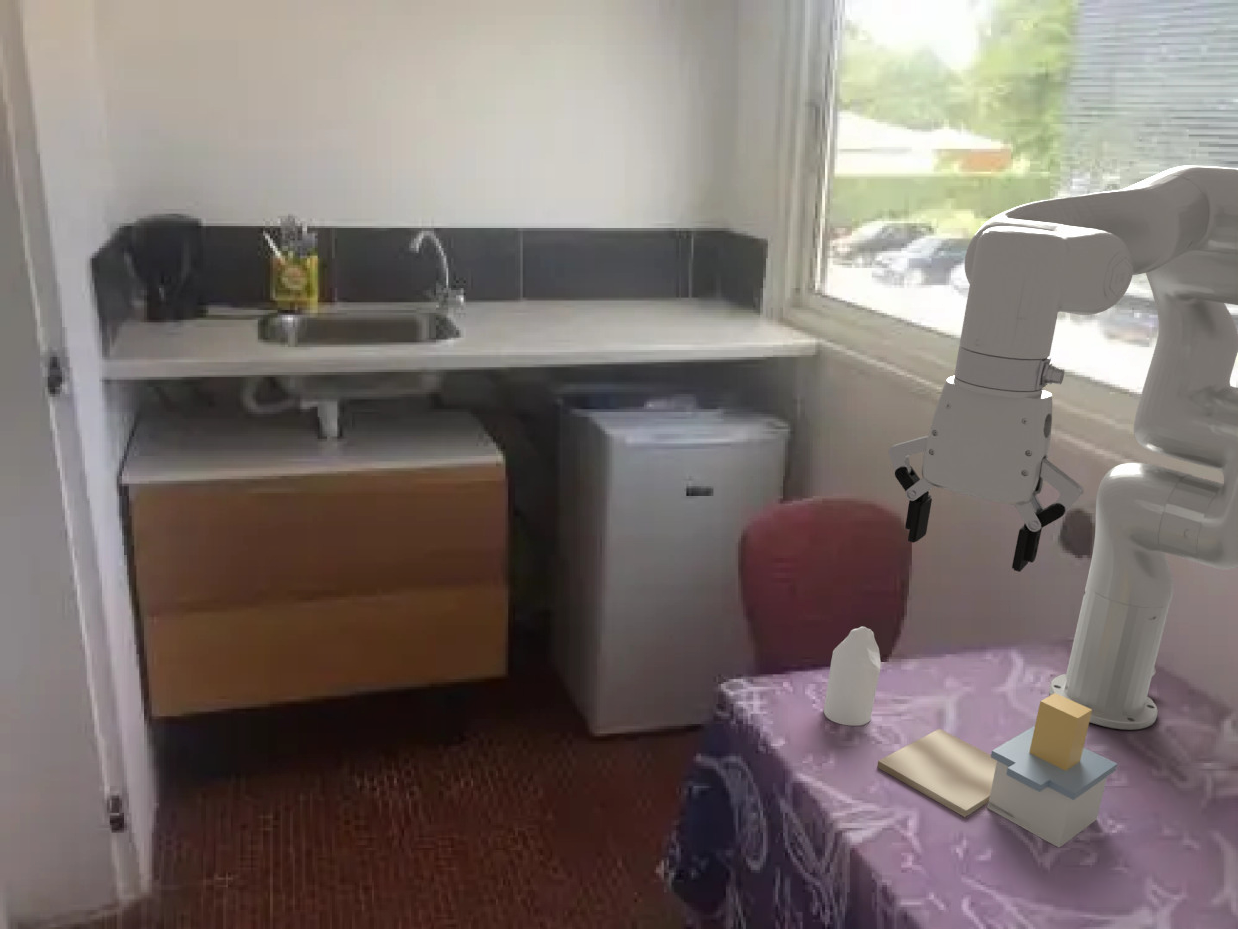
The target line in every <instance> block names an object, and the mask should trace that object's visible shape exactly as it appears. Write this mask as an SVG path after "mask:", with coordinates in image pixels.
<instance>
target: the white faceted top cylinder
mask: <svg viewBox="0 0 1238 929" xmlns="http://www.w3.org/2000/svg"><path fill="white" fill-rule="evenodd" d="M881 663H882V662H881V655H880V648H879V645H878V644H877V641H876V639H875V633H874V631H872V629H871V628H867V627H866V626H860V627H858V628H853V629H851V630H850V632H849V633H848V635H847V636H846V637H845V638H844V640H843V641H841V642H840V643H839V644H838V645H837V646H836V647H835V648H834V649H833V651H832V657H831V661H830V666H829V668H830V669H829V673H828V674H829V675H828V680H827V687H826V694H825V700H824V705H823V713H824V715H825V717H826V718H827V719H828V720H830V721H831V722H833V723H836V724H840V725H844V726H854V727H856V726H860V727H861V726H863V725H867V724H868V723H869V722H870V721H871V720H872V719H871V718H872V713H873V708H874V704H875V697H876V692H877V688H878V682H879V678H880V673H881V665H882V664H881Z"/></svg>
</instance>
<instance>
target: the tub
mask: <svg viewBox="0 0 1238 929" xmlns="http://www.w3.org/2000/svg"><path fill="white" fill-rule="evenodd" d="M1007 769H1008V766H1006V765H1005V764H1003V763H1001V762H999V761H997V763H996V768H995V773H994V778H993V783H992V788H991V792H990V797H989V802H988V803H987V807H986V808H987V809H989V810H990V811H992V812H994V813H996V814H997V815H999V816H1001V817H1003V818H1004V819H1006V820H1008V821H1010V822H1012V823H1014V824H1015V825H1018V826H1019V827H1021V828H1023V829H1025V830H1026V831H1028V832H1030V833H1031V834H1033V835H1035V836H1036V837H1039V838H1041V839H1043V840H1044V841H1046V842H1048V843H1050V844H1051V845H1053V846H1055V847H1057V848H1061V847H1062V846H1063V845H1065V844H1066V843H1067V842H1069V841H1071V839H1073V838H1074V837H1075V836H1077V835H1079V833H1081V832H1082V831H1084V830H1086V829H1087V828H1088V827H1089V826H1091V825H1092V824H1093V823H1094V822H1096V821H1097V820H1098V816H1099V812H1100V808H1101V804H1102V799H1103V797H1104V796H1103V795H1104V792H1105V788H1106V782H1107V778H1108V776H1107V777H1106V778H1104V779H1103V780H1102V781H1100V782H1099V783H1097V784H1096V785H1094V786H1093V787H1092V788H1090V789H1089V790H1087V791H1086V792H1084V793H1083V794H1082V795H1080V796H1079V797H1077V798H1076V799H1074V800H1072V799H1070V798H1068V797H1067V796H1065V795H1063V794H1061V793H1059V792H1057V791H1055V790H1053V789H1051V788H1049V787H1047V788H1045V789H1044V790H1042V791H1041V792H1038V791H1036V790H1034V789H1033V788H1031V787H1029V786H1027V785H1025V784H1023V783H1021V782H1019V781H1017V780H1015V779H1013V778H1012V777H1010V776H1008V775H1006V774H1007Z"/></svg>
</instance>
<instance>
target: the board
mask: <svg viewBox="0 0 1238 929" xmlns="http://www.w3.org/2000/svg"><path fill="white" fill-rule="evenodd" d="M996 763H997V760H995V759H993V758H991V754H990V753H987V752H986V751H984V750H982V749H980V748H979V747H976V746H974V745H972V744H970V743H968V742H966V741H964V740H962V739H960V738H959V737H957V736H955V735H953V734H951V733H950V732H947V731H945V730H943V729H942V728H938V729H936V730H934V731H932V732H931V733H929V734H927V735H924V736H923V737H920V738H919V739H917V740H915V741H914V742H911V743H909V744H908V745H905V746H904V747H902V748H900V749H898V750H896V751H894V752H892V753H890V754H888V755H886V756H884V757H883V758H881V759H879V760H878V761H877V765H876V767H877V768H878V769H880V770H881V771H883V772H885V773H887V774H888V775H890V776H892V777H893V778H896V779H897V780H899V781H901V782H902V783H904V784H906V785H907V786H910V787H911V788H912V789H915V790H916V791H918V792H920V793H922V794H923V795H926V796H927V797H929V798H931V799H932V800H934V801H936V802H937V803H939V804H941V805H943V806H944V807H946V808H948V809H949V810H951V811H953V812H955V813H956V814H958V815H961V816H962V817H963V818H966V817H967V816H969V815H971V814H973V813H974V812H975V811H977V810H978V809H980V808H982V807H983V806H985V805H986V804H988V802H989V797H990V792H991V788H992V783H993V778H994V773H995V768H996Z"/></svg>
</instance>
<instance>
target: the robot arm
mask: <svg viewBox="0 0 1238 929" xmlns="http://www.w3.org/2000/svg"><path fill="white" fill-rule="evenodd" d="M964 273H965V276H966V279H967V282H968V284H969V287H968V293H967V298H966V304H965V311H964V316H963V322H962V328H961V334H960V339H959V340H960V341H959V346H958V351H957V356H956V357H957V358H956V362H955V369H954V375H952V376H949V377H948V378H947V379H946V380H945V382H944V385H943V388H942V389H941V393H940V396H939V398H938V401H937V403H936V407H935V410H934V414H933V416H932V421H931V422H930V423H931V424H930V428H929V431H928V435H925V436H921V437H917V438H914V439H911V440H906V441H903V442H899V443H896V444H894V445H892V446H891V447H889V448H888V456H889V458H890V461H891V462H890V463H891V465H892V467H893V468H894V477H895V478H896V480H897V481H898V483H899V484H900V485H901V487H902V489H903V490H904V491H905V497H906V498H907V499H908V501H909V502H908V507H907V514H906V519H905V525H904V526H905V529H906V530H909V531H908V537H907V542H909V543H912V544H913V543H917V542H918V541H920V540H921V539H923V537H925V536H926V535H927V531H928V525H929V518H930V513H931V506H932V501H933V499H932V496H931V495H930V491H931V489H933V488H934V487H936V488H940V489H944V490H946V491H947V490H948V491H950V492H954V493H955V492H956V493H959V494H961V495H962V494H964V495H967V496H971V497H974V498H979V499H982V500H983V499H984V500H988V501H992V502H996V503H1000V504H1005V505H1009V506H1015V509H1016V510H1017V512H1018V514H1019V515H1020V517H1021V519H1022V521H1023V522H1024V523H1023V524H1024V525H1023V526H1022V527H1020V529H1019V531H1018V535H1017V540H1016V545H1015V550H1014V555H1013V560H1012V566H1011V569H1013V571H1016V572H1019V573H1021V571H1022V570H1023V569H1024V568H1026V566H1027V565H1028V563H1033V562H1035V561H1036V557H1037V555H1038V550H1039V544H1040V539H1041V534H1042V529H1043V528H1044V527H1046V526H1048V525H1050V524H1052V523H1053V522H1056V521H1057V520H1059V519H1061V518H1062V517H1063V516H1064V515H1065V514H1066V513H1067V512H1068V511H1069V510H1070V509H1071V507H1073V506H1074V504H1075V503H1076V502H1077V501H1078V500H1079V498H1081V496H1082V495H1083V494H1084V492H1085V489H1084V487H1083V486H1082V485H1081V484H1080V483H1078V482H1077V481H1076V480H1074V479H1073V478H1072V477H1070V476H1069V475H1068V474H1067V473H1065V472H1064V471H1063V470H1061V468H1059V467H1057V466H1056V465H1055V464H1053V463H1052V462H1051V461H1050V460H1049V455H1050V454H1049V453H1050V446H1051V436H1052V426H1053V394H1052V393H1051V392H1050V391H1047V390H1044V388H1045V387H1046V386H1048V385H1052V384H1054V385H1055V384H1056V385H1061V384H1062V383H1063V380H1064V377H1065V369H1063V368H1058V367H1057V366H1055V365H1053V362H1051V361H1052V360H1051V359H1052V357H1050V355H1051V350H1052V346H1053V340H1054V335H1055V331H1056V330H1055V329H1056V325H1057V319H1058V313H1067V314H1072V315H1080V316H1092V315H1096V314H1100V313H1102V312H1105V311H1107V310H1109V309H1111V308H1112V307H1114V306H1115V305H1116V304H1117V303H1119V301H1121V300H1122V298H1123V297H1124V295H1125V294H1126V292H1127V291H1128V289H1129V287H1130V284H1131V282H1132V279H1133V276H1135V275H1136V276H1137V275H1142V274H1146V277H1147V281H1148V283H1149V287H1150V289H1151V292H1152V297H1153V300H1154V304H1155V308H1156V312H1157V319H1158V333H1157V337H1156V338H1157V339H1156V343H1155V346H1154V350H1153V351H1154V352H1153V353H1152V357H1151V360H1150V364H1149V368H1148V371H1147V375H1146V378H1145V380H1144V384H1143V388H1142V391H1141V395H1140V397H1139V401H1138V404H1137V408H1136V412H1135V413H1136V414H1135V417H1134V423H1133V436H1134V439H1135V441H1136V443H1138V445H1140V446H1141V447H1142V448H1143V449H1145V450H1147V451H1150V452H1153V453H1155V454H1157V455H1158V454H1159V455H1161V456H1165V457H1168V458H1173V459H1177V460H1179V461H1182V462H1183V461H1184V462H1187V463H1191V464H1196V465H1198V466H1202V467H1206V468H1211V469H1214V470H1217V471H1220V472H1221V473H1222V475H1223V483H1222V482H1218V481H1215V480H1211V479H1207V478H1203V477H1198V476H1195V475H1193V474H1190V473H1187V472H1182V471H1178V470H1176V469H1175V470H1174V469H1172V468H1166V467H1162V466H1159V465H1156V464H1150V463H1144V462H1126V463H1121V464H1118V465H1115V466H1114V467H1113V468H1111V469H1109V470H1108V471H1107V472H1106V474H1105V475H1104V476H1103V477H1102V480H1101V481H1100V484H1099V486H1098V490H1097V493H1096V499H1095V500H1096V503H1095V532H1094V541H1093V542H1094V543H1093V550H1092V556H1091V561H1090V564H1089V571H1088V576H1087V580H1086V584H1085V587H1084V588H1085V589H1084V592H1083V598H1082V602H1081V607H1080V612H1079V616H1078V620H1077V625H1076V630H1075V633H1074V638H1073V642H1072V648H1071V651H1070V655H1069V661H1068V664H1067V665H1068V666H1067V669H1066V673H1063V674H1060V675H1058V676H1056V677H1053V679H1052V680H1051V682H1050V686H1049V690H1048V691H1049V696H1050V695H1052V694H1054V693H1056V694H1058V695H1061V696H1063V697H1065V698H1067V699H1070V700H1072V701H1074V702H1076V703H1078V704H1081V705H1083V706H1085V707H1087V708H1090V709H1092V713H1091V717H1090V721H1089V724H1094V725H1097V726H1100V727H1101V726H1102V727H1105V728H1110V729H1117V730H1129V731H1131V730H1142V729H1146V728H1148V727H1150V726H1152V725H1153V724H1154V723H1156V720H1157V717H1158V707H1157V705H1156V704H1155V703H1154V701H1153V700H1152V698H1150V697H1149V696H1148V693H1149V690H1150V685H1151V682H1152V677H1153V676H1154V675H1156V671H1157V670H1156V667H1155V665H1156V661H1157V658H1158V654H1159V649H1160V645H1161V642H1162V637H1163V633H1164V629H1165V625H1166V622H1167V616H1168V613H1169V609H1170V605H1171V602H1172V598H1173V593H1174V586H1175V585H1174V584H1175V583H1174V576H1173V572H1172V568H1171V566H1170V563H1169V560H1168V558H1167V556H1166V554H1169V555H1172V556H1176V557H1179V558H1181V559H1184V560H1188V561H1190V562H1194V563H1198V564H1201V565H1205V566H1208V567H1212V568H1215V569H1219V570H1233V569H1236V568H1238V387H1236V386H1231V377H1232V373H1233V370H1234V366H1235V363H1236V359H1237V356H1238V329H1237V325H1236V324H1235V323H1236V322H1235V320H1234V318H1233V316H1232V315H1231V312H1230V311H1229V309H1228V307H1227V306H1226V304H1229V305H1234V306H1238V167H1237V168H1236V167H1224V166H1214V165H1213V166H1212V165H1211V166H1210V165H1195V164H1194V165H1180V166H1176V167H1172V168H1168V169H1167V170H1164V171H1161V172H1159V173H1157V174H1155V175H1153V176H1150V177H1147V178H1146V179H1144V180H1141V181H1139V182H1137V183H1134V184H1132V185H1130V186H1128V187H1125V188H1123V189H1118V190H1110V191H1109V190H1108V191H1101V192H1099V191H1098V192H1093V193H1088V194H1081V195H1076V196H1068V197H1060V198H1052V199H1045V200H1038V201H1032V202H1029V203H1025V204H1022V205H1019V206H1016V207H1013V208H1011V209H1008V210H1005V211H1003V212H1001V213H999V214H996V215H995V216H993V217H991V218H990V219H989V220H987V221H986V222H985V223H984V224H983V225H981V226H980V227H979V228H978V230H977V231H976V232H975V234H973V237H972V238H971V240H970V242H969V243H968V247H967V249H966V252H965V256H964ZM918 453H919V454H920V453H923V457H922V463H921V464H922V465H921V476H922V478H920V477H919V475H918V474H917V472H916V471H915V470H914V468H913V467H912V465H911V464H910V459H909V457H910V456H911V455H915V454H918ZM1045 482H1046V483H1048V484H1049V485H1050V486H1051V487H1053V488H1054V489H1055V490H1057V491H1058V492H1059V498H1057V499H1056V501H1055V502H1053V503H1052V504H1050V505H1048V506H1047V507H1044V506H1043V504H1042V503H1041V500H1040V499H1039V497H1038V495H1039V494H1041V492H1042V490H1043V488H1044V484H1045Z"/></svg>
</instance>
